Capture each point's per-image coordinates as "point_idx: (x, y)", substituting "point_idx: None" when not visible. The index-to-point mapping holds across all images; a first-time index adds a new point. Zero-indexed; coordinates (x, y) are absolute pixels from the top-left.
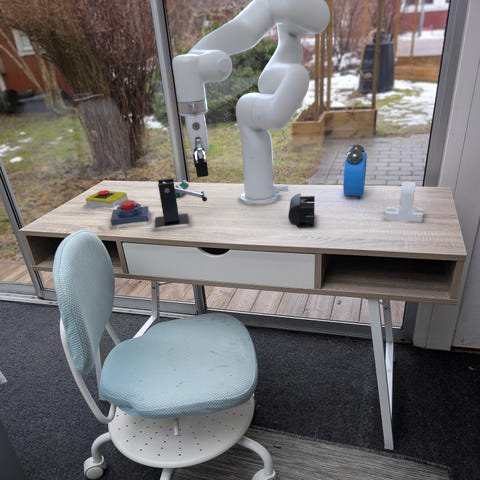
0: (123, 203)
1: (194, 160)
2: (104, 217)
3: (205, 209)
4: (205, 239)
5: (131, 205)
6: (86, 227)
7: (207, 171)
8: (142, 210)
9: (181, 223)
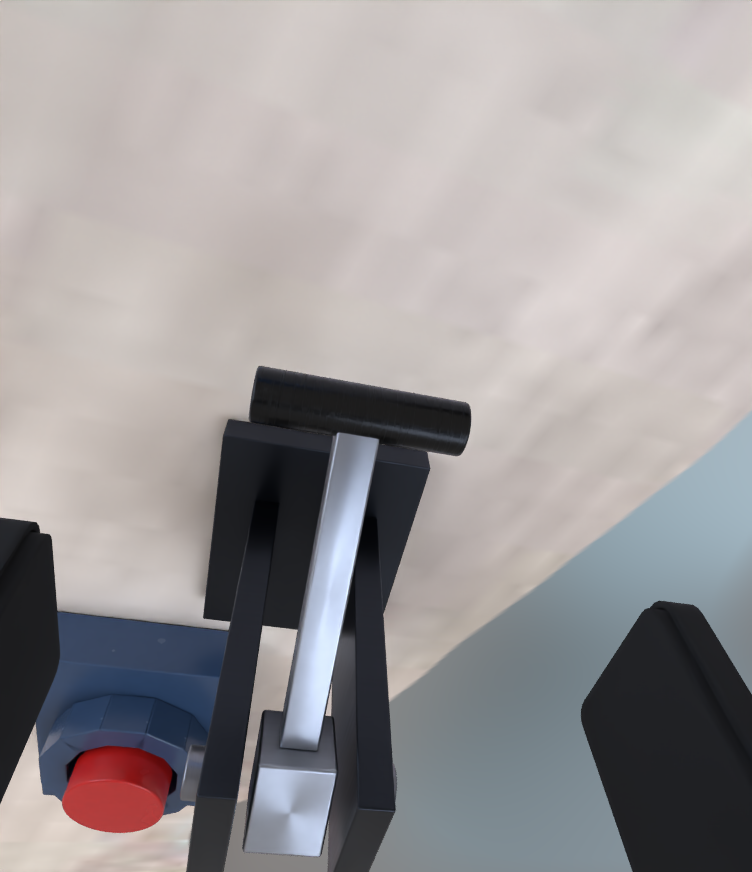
0: (119, 824)
1: (2, 791)
2: (30, 776)
3: (89, 244)
4: (713, 417)
5: (158, 789)
6: (153, 827)
7: (728, 670)
8: (120, 691)
9: (413, 512)
